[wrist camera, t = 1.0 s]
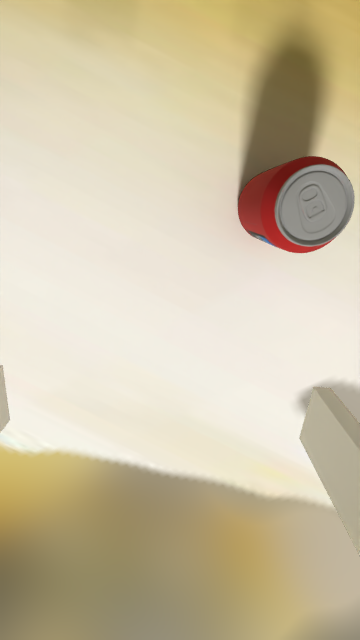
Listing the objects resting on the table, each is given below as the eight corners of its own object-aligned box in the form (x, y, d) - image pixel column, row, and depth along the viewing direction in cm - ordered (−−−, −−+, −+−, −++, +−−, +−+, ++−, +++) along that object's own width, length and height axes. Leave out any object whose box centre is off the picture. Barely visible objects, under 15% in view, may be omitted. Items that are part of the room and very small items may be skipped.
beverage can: (252, 251, 34) (287, 273, 23) (225, 192, 32) (250, 185, 21) (310, 220, 33) (377, 227, 22) (286, 157, 31) (347, 130, 20)
